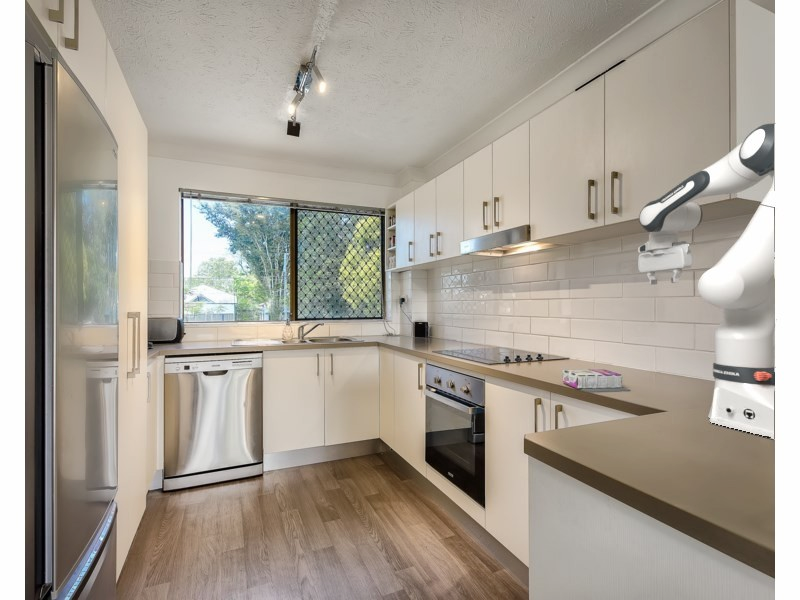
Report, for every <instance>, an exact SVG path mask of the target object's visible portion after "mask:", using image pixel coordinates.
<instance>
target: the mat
mask: <svg viewBox="0 0 800 600" xmlns="http://www.w3.org/2000/svg"><path fill="white" fill-rule="evenodd" d="M565 385H566V386H569V387H571V388H575V387H573V386H571V385H568V384H566V383H565ZM575 389H577V390H581V391H584V392H587V393H609V392H611V393H613V392H614V393H615V392H617V393H618V392H631V389H629V388H626V387H622V388H575Z"/></svg>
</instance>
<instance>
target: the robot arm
mask: <svg viewBox="0 0 800 600" xmlns="http://www.w3.org/2000/svg"><path fill="white" fill-rule="evenodd" d="M774 124H775V123H764V124H762V125H760V126H758V127H757V128H755V129H754V130H752V131H751V132H750V133H749V134H748V135H747V136H746V137H745V138H744V140H743V141H742V142H740V143H739V144H738V145H737V146H735V148H733V149H731V151H730V152H728V153H727V154H726V155H725V156H723V157H721V158H720V159H718V160H717V161H715V162H714V163H713V164H711V165H708V167H705V168H704V169H701V170H700V171H697V172H696V173H694V174H692V175H691V176H689V177H688V178H686V179H685V180H683V181H681V182H680V183H678V184H677V185H676V186H675V187H673V188H672V189H670V190H669V191H667V192H666V193H665V194H663V195H662V196H661V197H659V198H657V199H655V200H651V201H649V202H648V203H646V205H645V206H643V208H642V209H641V211H640V212H639V216H638V221H639V224H640V226H641V227H642V228H643V229H644V230H645V232H648V233H649V234H648V240H647V241H646V242H645V243H644V244H642V245H640V246H638V248H637V253H639V254H638V258H637V268H638V272H639V273H640V274H646V276H647V278H648V279H649V285H657V284H658V279H656V277H655V275H656V273H659V272H667V271H672V272H673V276H672V277H670V282H671V283H672V284H677V283H680V277H681V275H682V273H683V270H686V269H691V267H692V266H693V256H692V251H691V249H690V247H691V246H690V244H689V243H688V242H687V241H686V240H681V241H679V232H688V231H693V230H695V229H696V228H698V227H699V225H700V224H701V223H702V220H703V215H704V214H703V209H702V207H701V206H700V204H699V203H697V202H693V201H694V200H695V201H696V200H697V199H702V198H706V197H712V196H713V197H714V196H722V195H730V194H731V195H733V194H736V193H741V192H743V191H745V190H748V189H749V188H752V187H754V186H755V185H756V184H759V183H760V182H761V181H762V180H764V179H765V178H767V177H768V176H769V177H770V178H771V180H772V184H771V187H770V188H769V190H768V192H767V193H766V194H765V196H764V197H763V200H762V201H761V202H760V204H759V206H758V207H757V209H756V211H755V212H754V214H753V216H752V217H751V219H750V220H749V223H748V224H747V226H746V227H745V229H744V230H743V232H742V234H741V235H740V236H739V238H738V239H737V240H736V241H735V243H734V244H733V245H732V246H731V247H730V248H729V249H728V250H727V251H726V252H725V254H724V255H723V256H722V257H721V258H720V259H719V260H718V262H717V263H715V265H714V266H712V267H711V268H709V269H708V270H706V271H705V272H704V273H703V274H702V275H701V276H700V278H699V279H698V283H697V291H698V294H699V295H700V298H701V299H702V300H704V302H706V303H708V304H709V305H711V306H714V307H716V308H719V309H723V311H722V315H721V319H720V322H719V325H718V327H717V328H716V329H715V332H714V362H713V363H712V376H713V378H714V386H713V393H712V402H711V404H710V405H711V406H710V410H709V413H708V415H707V417H709V418H710V419H709V418H708V419H709V421H710V422H711V423H710V422H709V423H710V424H712V423H715V424H714V425H716V424H718V425H717V426H720V425H722V426H721V427H723V426H726V427H725V428H727V427H729V428H728V429H731V428H734V429H733V430H735V429H738V430H737V431H739V430H742V431H741V432H743V431H746V432H745V433H747V432H750V433H749V434H751V433H753V434H752V435H755V434H759V435H762V436H761V437H763V436H769V437H771V438H770V439H772V440H775V439H774V388H775V372H774V367H775V361H774V360H775V358H774V357H775V356H774V355H775V351H774V350H775V349H774V348H775V347H774V346H775V345H774V343H775V342H774V337H775V336H774V335H775V329H774V328H776V324H775V317H774V313H775V311H774V310H775V309H774V304H775V298H774V286H775V279H774V257H775V252H774V207H775V191H774ZM696 203H697V204H696ZM759 435H758V436H759Z"/></svg>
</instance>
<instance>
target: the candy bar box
mask: <svg viewBox="0 0 800 600" xmlns="http://www.w3.org/2000/svg"><path fill="white" fill-rule="evenodd" d="M562 383H564V384H565V385H566V384H568V385H571V386H573V387H572V388H574V387H575V389H577V388H623V375H622V374H620V373H618V372H614V371H610V370H608V369H562ZM568 385H567V386H568ZM571 386H570V387H571Z"/></svg>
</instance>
